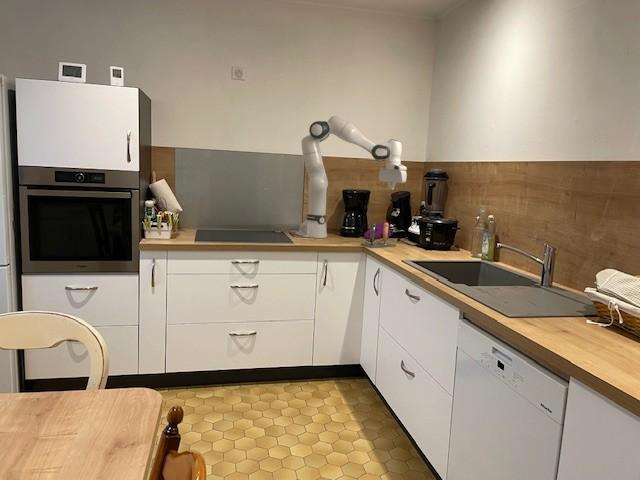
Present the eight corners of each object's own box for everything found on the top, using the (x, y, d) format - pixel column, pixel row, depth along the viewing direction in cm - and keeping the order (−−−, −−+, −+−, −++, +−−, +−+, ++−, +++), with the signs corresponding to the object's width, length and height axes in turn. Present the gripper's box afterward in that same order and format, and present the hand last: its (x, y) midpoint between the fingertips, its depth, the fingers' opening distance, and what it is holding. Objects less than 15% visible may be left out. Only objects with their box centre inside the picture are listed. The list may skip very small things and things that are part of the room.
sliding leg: (378, 241, 285) (379, 221, 283) (381, 241, 287) (383, 221, 285) (384, 243, 280) (386, 222, 279) (388, 242, 282) (389, 222, 281)
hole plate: (360, 245, 279) (361, 241, 279) (383, 243, 291) (384, 239, 291) (372, 248, 272) (372, 243, 271) (395, 246, 283) (396, 242, 283)
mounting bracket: (375, 249, 307) (391, 235, 318) (373, 237, 304) (388, 224, 314) (364, 246, 314) (379, 233, 324) (361, 235, 310) (377, 222, 320)
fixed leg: (365, 243, 278) (366, 222, 277) (369, 242, 280) (370, 221, 278) (371, 244, 274) (373, 223, 272) (375, 244, 276) (377, 223, 274)
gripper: (377, 166, 295) (375, 188, 297) (401, 167, 279) (399, 190, 281) (384, 166, 298) (382, 188, 300) (409, 167, 282) (406, 190, 284)
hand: (391, 189), depth 290 cm, fingers closed
